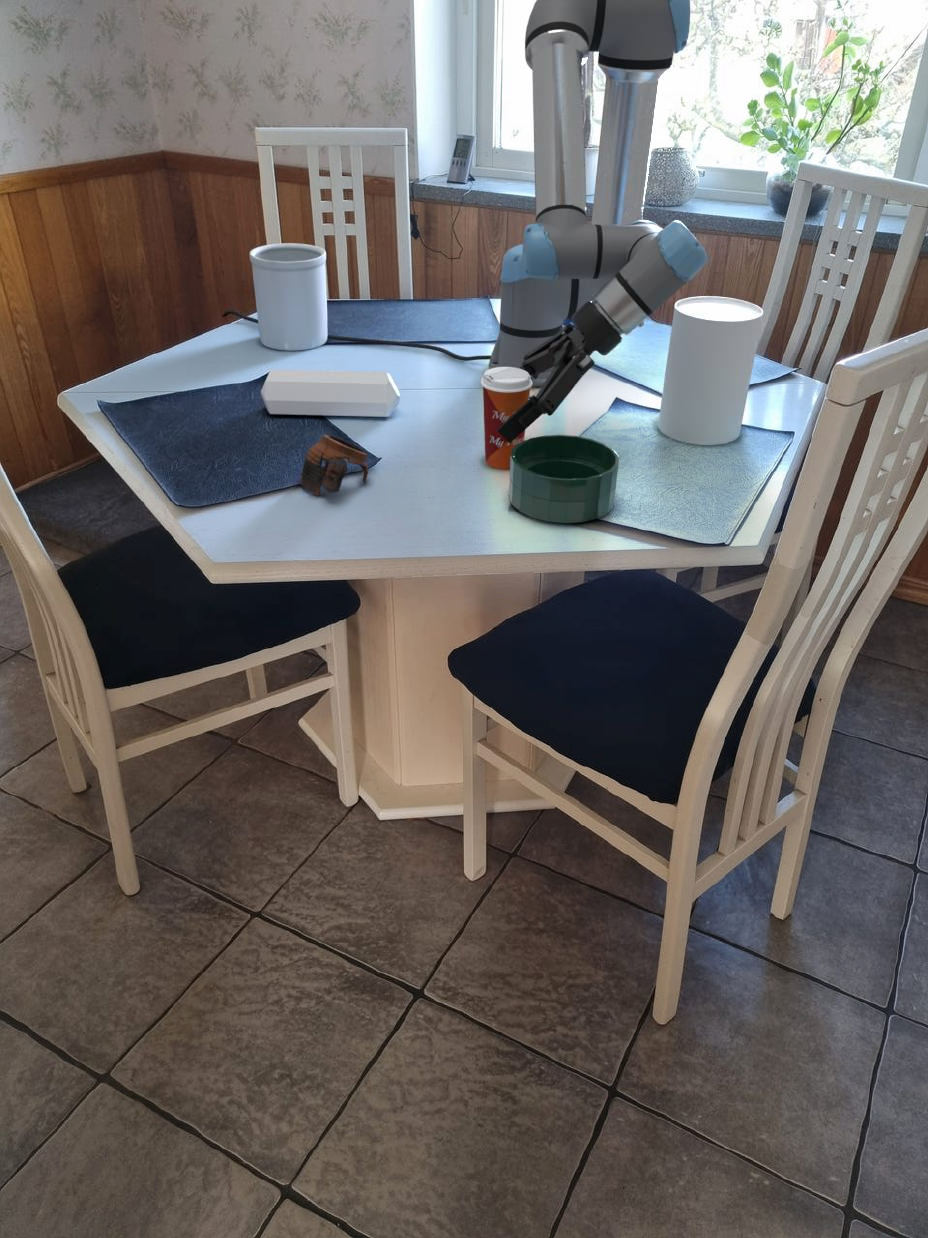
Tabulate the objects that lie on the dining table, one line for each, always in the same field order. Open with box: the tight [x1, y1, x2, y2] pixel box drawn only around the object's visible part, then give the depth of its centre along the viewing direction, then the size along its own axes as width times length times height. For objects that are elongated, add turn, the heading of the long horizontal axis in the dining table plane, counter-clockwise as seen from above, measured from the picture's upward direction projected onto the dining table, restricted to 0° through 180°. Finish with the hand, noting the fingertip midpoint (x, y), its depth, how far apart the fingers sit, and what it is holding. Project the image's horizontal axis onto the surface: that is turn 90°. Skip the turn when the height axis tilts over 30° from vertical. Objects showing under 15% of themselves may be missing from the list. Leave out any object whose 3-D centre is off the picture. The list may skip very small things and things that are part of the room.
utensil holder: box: [249, 242, 328, 352], centre depth 188 cm, size 15×15×18 cm
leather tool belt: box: [299, 433, 369, 496], centre depth 136 cm, size 12×10×8 cm
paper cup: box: [480, 367, 533, 470], centre depth 141 cm, size 8×8×14 cm
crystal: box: [260, 368, 401, 418], centre depth 161 cm, size 7×7×24 cm
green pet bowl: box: [508, 434, 620, 524], centre depth 133 cm, size 15×15×7 cm
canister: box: [657, 295, 764, 446], centre depth 152 cm, size 14×14×20 cm
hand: (499, 418), depth 141 cm, fingers open, 13 cm apart
